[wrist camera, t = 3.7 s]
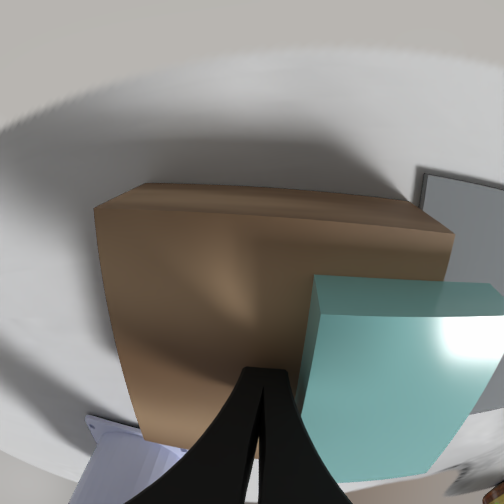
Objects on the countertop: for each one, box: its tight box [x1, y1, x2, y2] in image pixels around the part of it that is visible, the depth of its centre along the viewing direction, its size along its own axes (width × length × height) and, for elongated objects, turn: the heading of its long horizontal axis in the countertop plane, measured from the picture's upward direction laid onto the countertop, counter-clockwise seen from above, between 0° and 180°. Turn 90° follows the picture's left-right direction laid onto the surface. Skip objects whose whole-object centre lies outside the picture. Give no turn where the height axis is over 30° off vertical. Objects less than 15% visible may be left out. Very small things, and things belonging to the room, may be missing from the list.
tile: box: [295, 275, 504, 483], centre depth 9 cm, size 8×6×2 cm
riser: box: [94, 183, 455, 459], centre depth 12 cm, size 11×10×4 cm
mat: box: [419, 174, 504, 415], centre depth 13 cm, size 14×14×1 cm
